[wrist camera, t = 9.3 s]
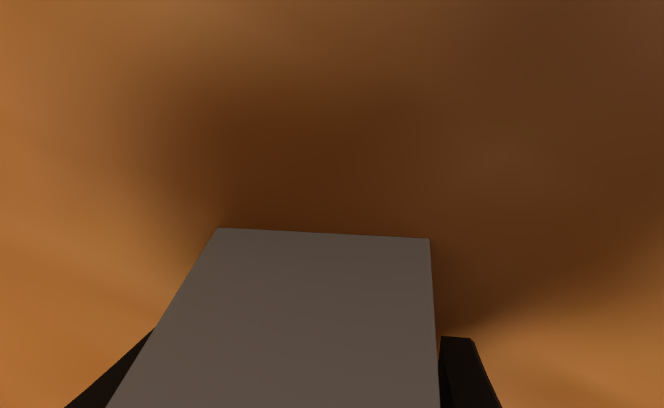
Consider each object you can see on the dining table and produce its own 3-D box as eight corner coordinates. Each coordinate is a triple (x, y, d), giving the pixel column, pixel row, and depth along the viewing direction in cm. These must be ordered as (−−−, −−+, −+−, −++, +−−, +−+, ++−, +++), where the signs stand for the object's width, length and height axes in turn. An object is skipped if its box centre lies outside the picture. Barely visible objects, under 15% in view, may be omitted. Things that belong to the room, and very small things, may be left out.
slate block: (429, 236, 10) (443, 452, 6) (416, 380, 13) (419, 600, 9) (218, 225, 11) (102, 413, 7) (246, 364, 14) (174, 561, 10)
